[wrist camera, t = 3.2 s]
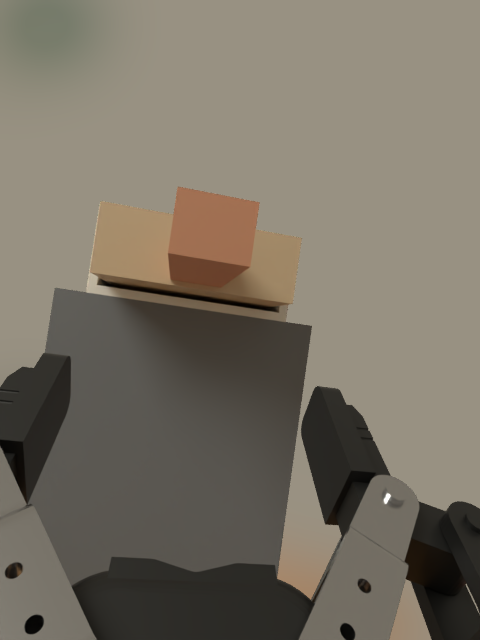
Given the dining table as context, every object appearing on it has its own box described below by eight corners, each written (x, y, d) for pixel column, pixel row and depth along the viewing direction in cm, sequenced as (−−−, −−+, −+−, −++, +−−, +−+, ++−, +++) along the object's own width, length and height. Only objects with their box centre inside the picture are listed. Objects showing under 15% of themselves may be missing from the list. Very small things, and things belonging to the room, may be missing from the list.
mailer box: (86, 292, 27) (99, 204, 28) (115, 301, 41) (124, 243, 41) (285, 322, 30) (297, 240, 30) (250, 321, 44) (258, 266, 44)
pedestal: (-16, 745, 26) (54, 287, 27) (49, 599, 40) (95, 298, 41) (254, 740, 29) (311, 326, 30) (228, 605, 43) (268, 324, 44)
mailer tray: (32, 239, 14) (51, 120, 14) (119, 289, 36) (126, 243, 36) (363, 293, 16) (377, 188, 16) (252, 309, 38) (258, 265, 38)
